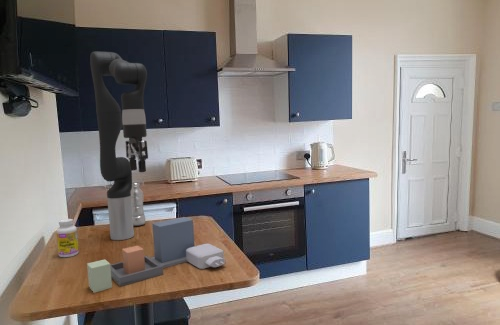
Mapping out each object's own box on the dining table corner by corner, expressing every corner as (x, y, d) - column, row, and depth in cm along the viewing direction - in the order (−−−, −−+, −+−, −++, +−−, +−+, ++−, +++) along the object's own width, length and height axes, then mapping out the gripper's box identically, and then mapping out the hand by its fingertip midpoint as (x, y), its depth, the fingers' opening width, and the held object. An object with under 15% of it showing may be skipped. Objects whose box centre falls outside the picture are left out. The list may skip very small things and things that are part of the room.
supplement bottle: (57, 259, 133) (53, 223, 131) (60, 253, 139) (57, 219, 138) (77, 256, 134) (74, 221, 133) (80, 250, 141) (77, 217, 140)
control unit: (149, 260, 127) (147, 222, 126) (187, 250, 135) (184, 215, 134) (161, 268, 119) (159, 228, 118) (200, 257, 127) (198, 220, 126)
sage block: (89, 287, 107) (86, 263, 107) (107, 282, 110) (105, 259, 110) (93, 293, 103) (91, 268, 103) (112, 287, 106) (110, 263, 106)
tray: (107, 273, 117) (106, 265, 117) (147, 262, 125) (146, 255, 124) (120, 286, 107) (119, 278, 106) (163, 274, 114) (162, 266, 114)
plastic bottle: (148, 223, 177) (144, 181, 175) (142, 227, 171) (139, 183, 169) (134, 223, 178) (131, 181, 176) (128, 227, 171) (125, 184, 169)
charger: (208, 276, 112) (186, 262, 124) (234, 268, 117) (210, 255, 129) (207, 260, 111) (185, 248, 123) (233, 253, 117) (210, 242, 129)
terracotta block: (123, 270, 116) (122, 249, 116) (139, 266, 119) (137, 245, 118) (129, 275, 112) (127, 253, 112) (145, 271, 115) (143, 249, 114)
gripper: (153, 122, 123) (156, 171, 124) (137, 123, 134) (141, 168, 136) (130, 123, 118) (134, 174, 120) (116, 124, 130) (120, 170, 131)
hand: (137, 171), depth 128 cm, fingers open, 8 cm apart
